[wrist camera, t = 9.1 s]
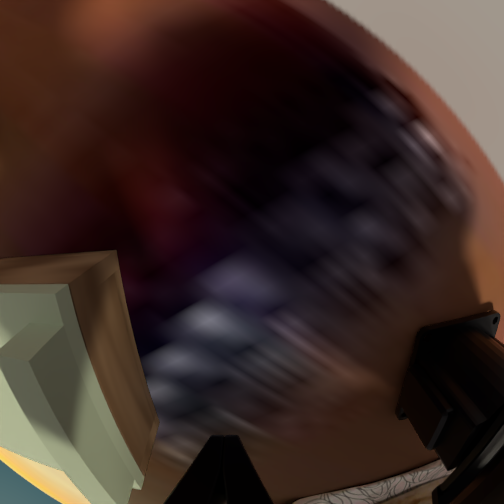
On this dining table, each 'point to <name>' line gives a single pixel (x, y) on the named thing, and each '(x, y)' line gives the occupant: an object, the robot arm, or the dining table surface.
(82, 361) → the lid
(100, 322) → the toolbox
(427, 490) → the cookie jar
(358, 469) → the dining table surface
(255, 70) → the dining table surface
